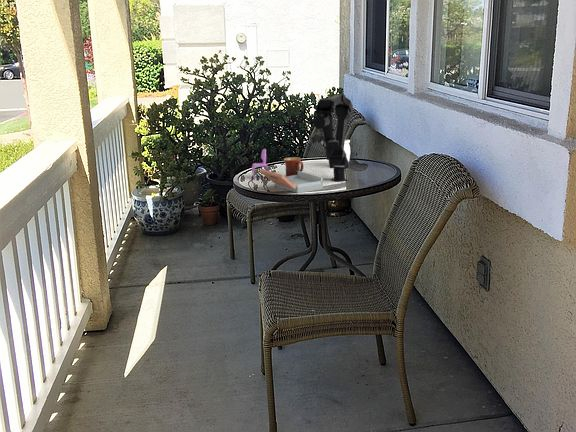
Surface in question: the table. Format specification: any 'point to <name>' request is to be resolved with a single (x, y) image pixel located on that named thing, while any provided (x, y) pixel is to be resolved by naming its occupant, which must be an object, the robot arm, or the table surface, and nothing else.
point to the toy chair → (260, 163)
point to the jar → (347, 149)
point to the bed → (303, 182)
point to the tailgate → (277, 178)
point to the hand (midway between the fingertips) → (328, 159)
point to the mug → (293, 166)
